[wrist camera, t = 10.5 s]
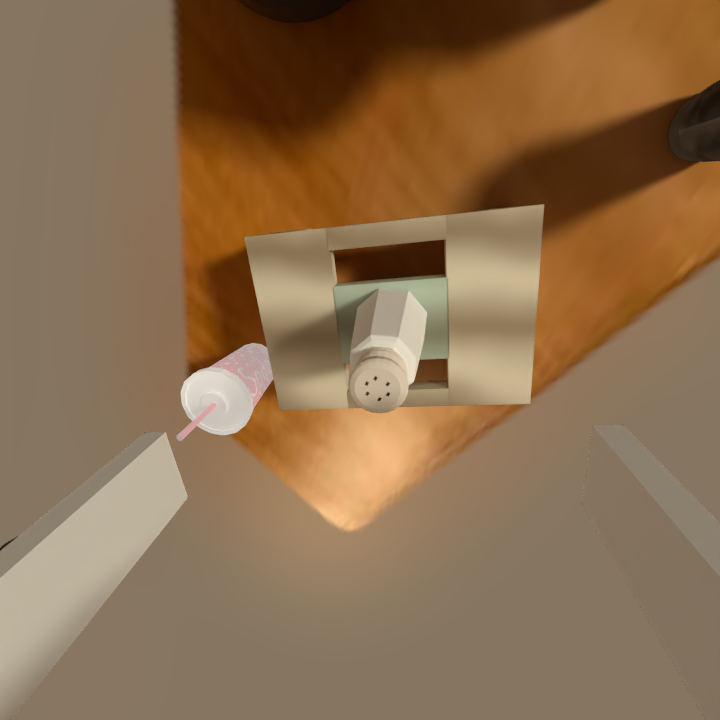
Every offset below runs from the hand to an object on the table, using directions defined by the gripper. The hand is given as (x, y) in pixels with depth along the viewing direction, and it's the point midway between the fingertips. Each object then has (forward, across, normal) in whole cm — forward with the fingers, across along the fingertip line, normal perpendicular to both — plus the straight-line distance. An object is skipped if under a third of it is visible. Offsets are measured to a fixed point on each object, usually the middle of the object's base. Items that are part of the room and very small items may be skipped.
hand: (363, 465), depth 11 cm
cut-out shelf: (+25, 0, 0) cm, 25 cm away
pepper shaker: (+17, 0, 0) cm, 17 cm away
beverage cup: (+25, -15, -6) cm, 30 cm away
